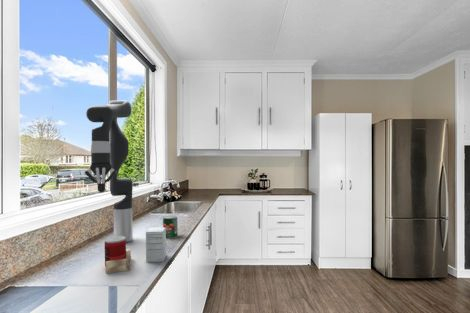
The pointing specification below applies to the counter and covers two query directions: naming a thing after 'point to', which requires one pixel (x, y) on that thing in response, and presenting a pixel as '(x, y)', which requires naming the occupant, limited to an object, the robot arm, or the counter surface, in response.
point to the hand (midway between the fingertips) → (101, 192)
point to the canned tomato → (170, 226)
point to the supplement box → (155, 244)
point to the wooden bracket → (119, 264)
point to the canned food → (115, 248)
